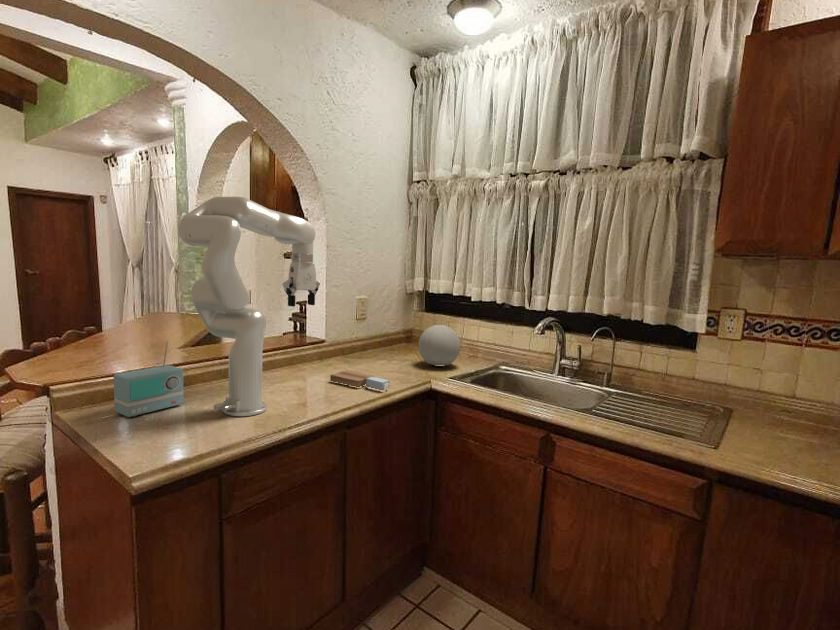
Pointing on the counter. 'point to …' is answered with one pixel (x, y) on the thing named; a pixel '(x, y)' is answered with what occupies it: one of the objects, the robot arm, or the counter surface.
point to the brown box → (350, 378)
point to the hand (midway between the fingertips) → (301, 305)
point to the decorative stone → (439, 345)
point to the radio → (148, 389)
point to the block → (377, 383)
